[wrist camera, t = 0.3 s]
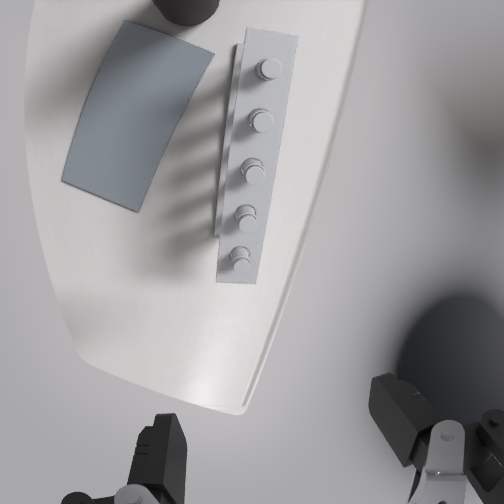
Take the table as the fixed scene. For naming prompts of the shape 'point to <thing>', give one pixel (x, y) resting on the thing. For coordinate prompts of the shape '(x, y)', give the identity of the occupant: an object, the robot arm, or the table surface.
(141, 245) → the table surface
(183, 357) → the table surface
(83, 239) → the table surface
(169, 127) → the slate mat
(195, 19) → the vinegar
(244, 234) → the test tube rack
